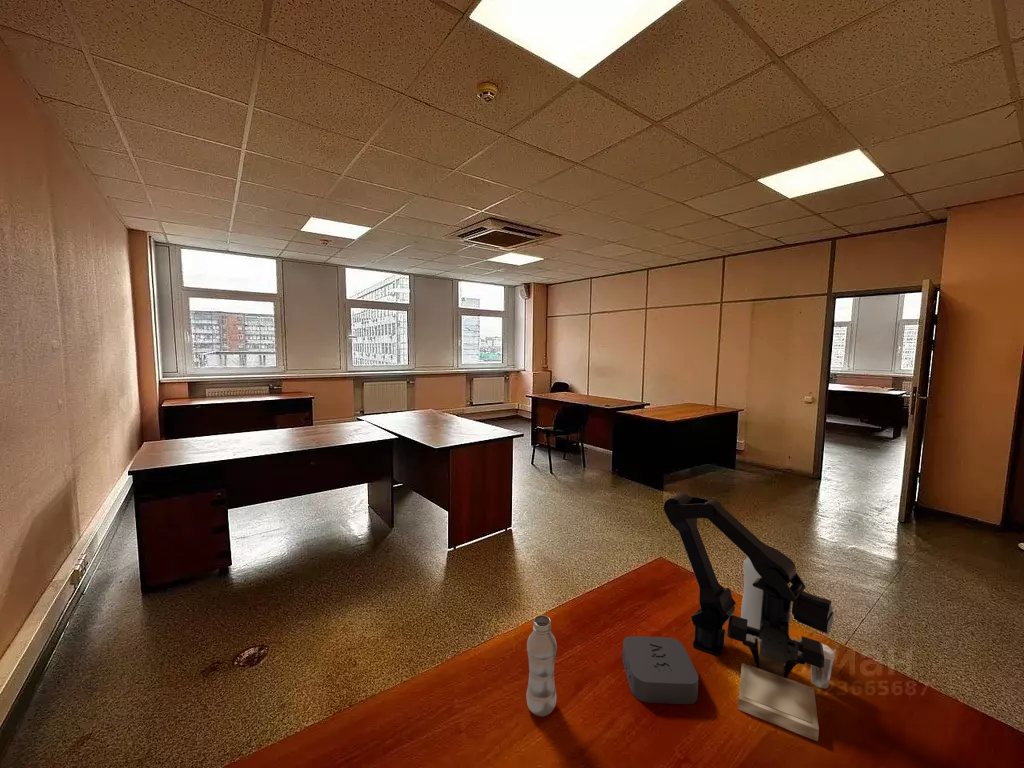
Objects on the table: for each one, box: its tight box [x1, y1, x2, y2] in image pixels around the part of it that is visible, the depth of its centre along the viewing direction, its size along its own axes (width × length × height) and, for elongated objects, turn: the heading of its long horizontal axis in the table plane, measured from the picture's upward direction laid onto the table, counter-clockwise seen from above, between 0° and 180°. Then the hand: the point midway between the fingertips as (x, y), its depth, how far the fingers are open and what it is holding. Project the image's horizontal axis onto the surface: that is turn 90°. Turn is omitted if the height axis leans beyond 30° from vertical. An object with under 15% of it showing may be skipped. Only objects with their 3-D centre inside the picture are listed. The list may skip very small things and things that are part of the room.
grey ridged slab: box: [740, 556, 762, 644], centre depth 113 cm, size 11×4×22 cm, turn 8°
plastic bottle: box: [525, 614, 558, 717], centre depth 90 cm, size 6×7×20 cm
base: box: [737, 662, 820, 742], centre depth 92 cm, size 14×12×3 cm
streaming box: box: [622, 635, 699, 705], centre depth 99 cm, size 14×14×5 cm
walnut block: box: [759, 640, 785, 677], centre depth 102 cm, size 5×5×6 cm
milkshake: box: [810, 642, 839, 690], centre depth 97 cm, size 4×5×10 cm
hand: (771, 673), depth 99 cm, fingers closed on walnut block, 5 cm apart
